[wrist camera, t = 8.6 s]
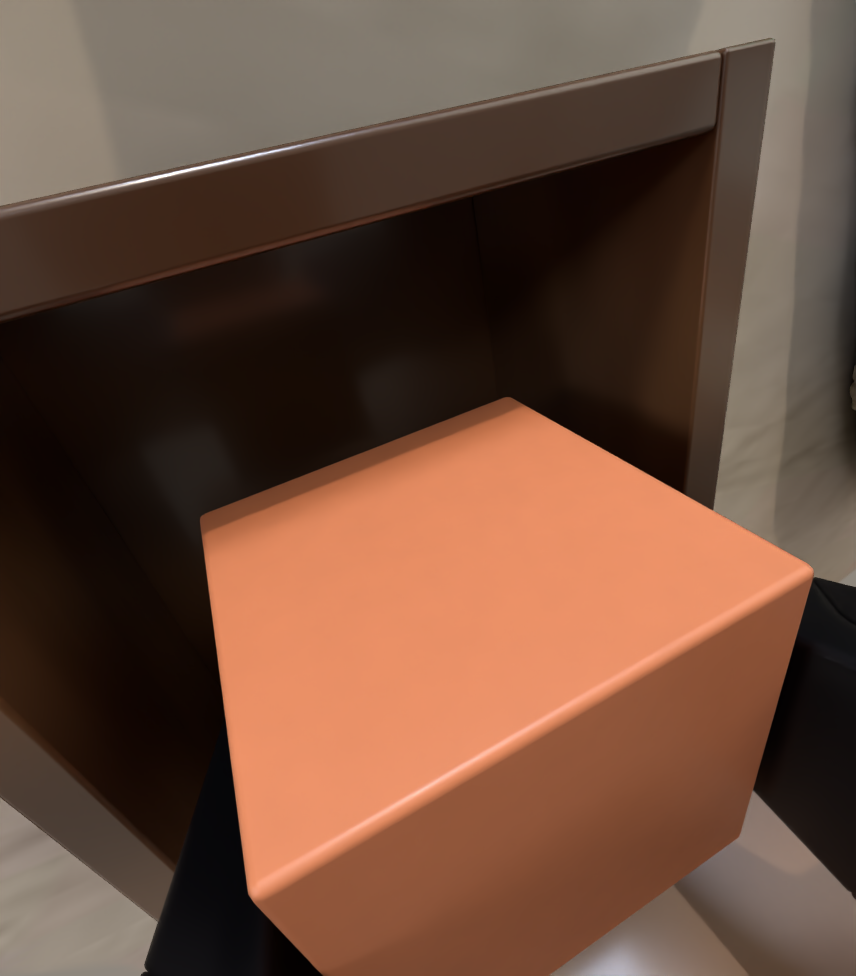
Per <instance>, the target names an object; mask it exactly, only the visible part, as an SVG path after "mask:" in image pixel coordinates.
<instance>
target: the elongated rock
mask: <svg viewBox="0 0 856 976" xmlns="http://www.w3.org/2000/svg"><path fill="white" fill-rule="evenodd" d="M852 376H853V379H854V382H853V383H852V384H851V386H850V395H851V397H852V401H853V402H852V405H851V406H852V408H853V409H854V410H856V365H855V367H854V372H853V375H852Z"/></svg>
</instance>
